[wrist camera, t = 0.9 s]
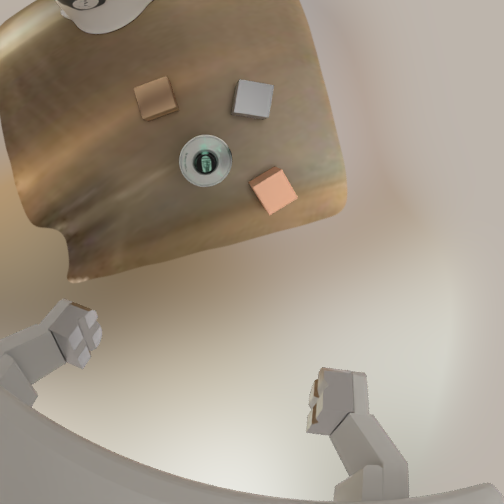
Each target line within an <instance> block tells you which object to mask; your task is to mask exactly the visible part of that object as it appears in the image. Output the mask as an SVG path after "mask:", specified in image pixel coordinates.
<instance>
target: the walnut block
mask: <svg viewBox="0 0 504 504" xmlns="http://www.w3.org/2000/svg"><path fill="white" fill-rule="evenodd" d="M133 89H134V92H135V96H136V99H137V102H138V106H139V109H140V112H141V116H142V119H144V120H147V121H150V120H153V119H156V118H158V117H161V116H164V115H166V114H169V113H172V112H175V111H178V110H179V108H178V105H177V102H176V99H175V95H174V92H173V89H172V86H171V82H170V81H169V79H168V77H167V76H165V77H162V78H159V79H156V80H154V81H151V82H148V83H146V84H143V85H141V86H138V87H136V88H133Z"/></svg>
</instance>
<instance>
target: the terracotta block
mask: <svg viewBox="0 0 504 504" xmlns="http://www.w3.org/2000/svg"><path fill="white" fill-rule="evenodd" d="M248 183H249V184H250V186H251V188H252V189H253V191H254V192H255V194H256V196H257V197H258V199H259V201H260V202H261V204H262V205H263V207H264V208H265V210H266V211H267V212H268V213H269V215H271V214H272V213H274V212H276V211H277V210H279V209H281V208H282V207H284V206H285V205H287V204H289V203H290V202H292V201H294V200H295V199H297V198H298V197H297V195H296V194H295V192H294V190H293V188H292V186H291V185H290V183H289V181H288V179H287V178H286V176H285V174H284V172H283V171H282V169H279V168H277V167H275V166H274V167H273V168H271V169H269V170H268V171H266V172H264V173H263V174H261V175H260V176H258V177H256V178H255V179H253V180H251V181H250V182H248Z"/></svg>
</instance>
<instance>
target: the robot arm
mask: <svg viewBox="0 0 504 504" xmlns="http://www.w3.org/2000/svg"><path fill="white" fill-rule="evenodd" d="M151 1H153V0H55V2H56V3H57V4H58V5H59V6H60V8H61V15H62V16H63V17H65V18H67V19H71V20H72V21H73V22H74V23H75V24H76V26H77V27H78V28H79V29H81V30H82V31H84V32H87V33H92V34H102V33H108V32H111V31H114V30H117V29H119V28H121V27H123V26H125V25H127V24H128V23H130V22H131V21H133V20H134V19H135V18H136V17H137V16H138V15H139V14H140V13H141V12H142V11H143V10H144V9H145V7H146V6H147V5H148V4H149V3H150V2H151ZM97 318H98V316H97V313H96V311H94V310H92V309H90V308H87V307H84V306H82V305H79V304H77V303H74V302H72V301H70V300H67V299H61V300H60V301H59V302H58V303H57V304H56V305H55V306H54V308H53V309H52V310H51V311H50V312H49V313H48V315H47V316H46V317H45V318H44V319H43V320H42V322H41V323H40V324H39V325H37V324H35V325H33V326H30V327H28V328H26V329H23V330H21V331H19V332H16V333H14V334H12V335H9V336H7V337H5V338H3V339H1V340H0V504H504V497H503V495H502V494H501V493H500V492H499V490H498V489H497V488H496V487H495V486H494V485H493V484H491V483H483V484H479V485H475V486H471V487H467V488H463V489H459V490H454V491H449V492H444V493H439V494H433V495H427V496H420V497H412V498H409V478H408V463H407V461H406V460H405V459H404V457H403V456H402V454H401V453H400V451H399V450H398V449H397V447H396V446H395V444H394V443H393V442H392V440H391V439H390V437H389V436H388V435H387V433H386V432H385V430H384V429H383V428H382V426H381V425H380V424H379V422H378V421H377V419H376V418H375V416H374V415H371V414H369V402H368V389H367V388H368V387H367V376H366V374H365V373H362V372H353V371H348V370H340V369H332V368H325V367H322V368H321V369H320V371H319V374H318V379H317V380H315V381H314V383H313V385H312V389H311V392H310V397H309V406H310V408H311V411H310V413H309V415H308V417H307V429H306V432H307V433H313V434H321V435H329V436H330V439H331V441H332V443H333V445H334V447H335V449H336V451H337V453H338V455H339V457H340V459H341V461H342V463H343V465H344V466H345V469H346V471H347V472H348V474H349V476H350V477H348V478H347V479H346V480H344V481H342V482H341V483H339V484H338V485H336V486H335V492H334V501H312V500H298V499H288V498H279V497H271V496H264V495H257V494H252V493H246V492H240V491H235V490H230V489H226V488H221V487H217V486H213V485H208V484H205V483H201V482H197V481H193V480H190V479H186V478H183V477H179V476H176V475H173V474H170V473H167V472H164V471H161V470H158V469H155V468H152V467H150V466H147V465H144V464H141V463H139V462H136V461H134V460H131V459H129V458H127V457H124V456H122V455H119V454H117V453H115V452H112V451H110V450H108V449H106V448H104V447H101V446H99V445H97V444H95V443H93V442H91V441H89V440H87V439H85V438H83V437H81V436H79V435H77V434H76V433H74V432H72V431H70V430H68V429H66V428H65V427H63V426H61V425H59V424H58V423H56V422H54V421H52V420H51V419H49V418H48V417H46V416H44V415H43V414H41V413H39V412H38V411H36V410H35V409H33V408H32V405H33V403H34V402H35V400H36V398H37V397H38V394H37V392H36V391H35V389H34V388H33V386H32V384H34V383H35V382H37V381H38V380H40V379H41V378H43V377H45V376H46V375H48V374H49V373H51V372H53V371H54V370H56V369H57V368H59V367H60V366H62V365H64V364H65V363H66V362H67V363H70V364H72V365H74V366H77V367H79V368H81V369H83V368H84V367H85V365H86V364H87V362H88V361H89V359H90V357H91V352H90V351H92V350H94V349H96V348H97V346H98V345H99V343H100V341H101V337H102V329H101V326H100V324H99V323H98V322H97V321H96V320H97Z"/></svg>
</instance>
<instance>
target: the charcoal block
mask: <svg viewBox="0 0 504 504" xmlns="http://www.w3.org/2000/svg"><path fill="white" fill-rule="evenodd" d="M273 89H274V85H269V84H264V83H258V82H253V81H247V80H240V79H239V81H238V83H237V84H236V88H235V94H234V100H233V106H232V112H231V115H236V116H243V117H249V118H256V119H262V120H263V119H266V118H269V113H270V107H271V101H272V95H273Z"/></svg>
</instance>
